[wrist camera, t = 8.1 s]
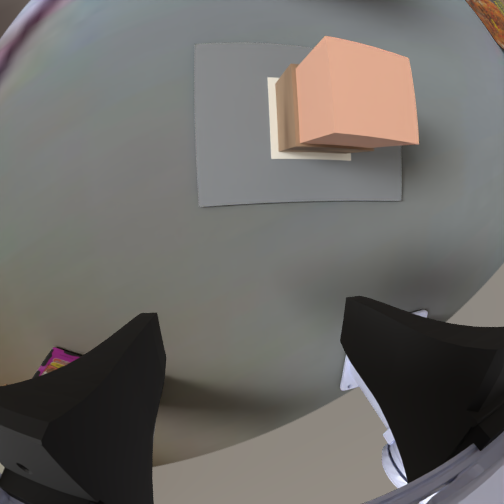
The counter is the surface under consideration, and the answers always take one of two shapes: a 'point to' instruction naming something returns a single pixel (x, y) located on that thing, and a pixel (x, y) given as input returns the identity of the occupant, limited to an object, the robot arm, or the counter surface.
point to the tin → (491, 17)
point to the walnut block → (290, 119)
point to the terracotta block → (355, 96)
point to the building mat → (270, 137)
